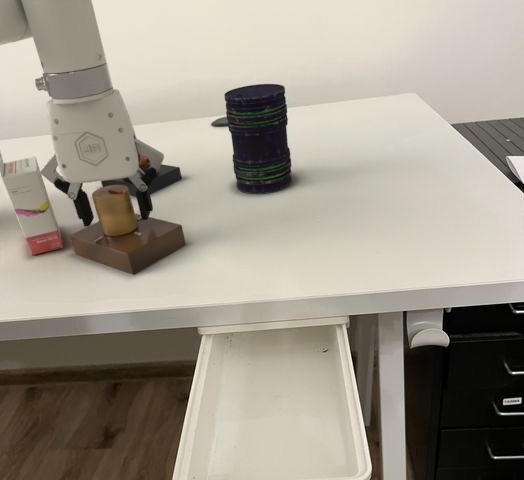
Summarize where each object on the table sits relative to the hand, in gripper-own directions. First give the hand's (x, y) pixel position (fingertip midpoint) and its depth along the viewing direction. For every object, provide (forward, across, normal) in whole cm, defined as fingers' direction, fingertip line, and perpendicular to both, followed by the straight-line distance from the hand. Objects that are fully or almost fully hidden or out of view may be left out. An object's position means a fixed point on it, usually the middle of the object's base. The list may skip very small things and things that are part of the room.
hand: (117, 218), depth 77 cm
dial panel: (+4, +1, -1) cm, 5 cm away
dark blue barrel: (+5, +21, +20) cm, 30 cm away
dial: (+1, 0, 0) cm, 1 cm away
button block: (+4, -2, +28) cm, 28 cm away
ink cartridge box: (+5, -13, +6) cm, 15 cm away
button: (+1, -2, +28) cm, 28 cm away
